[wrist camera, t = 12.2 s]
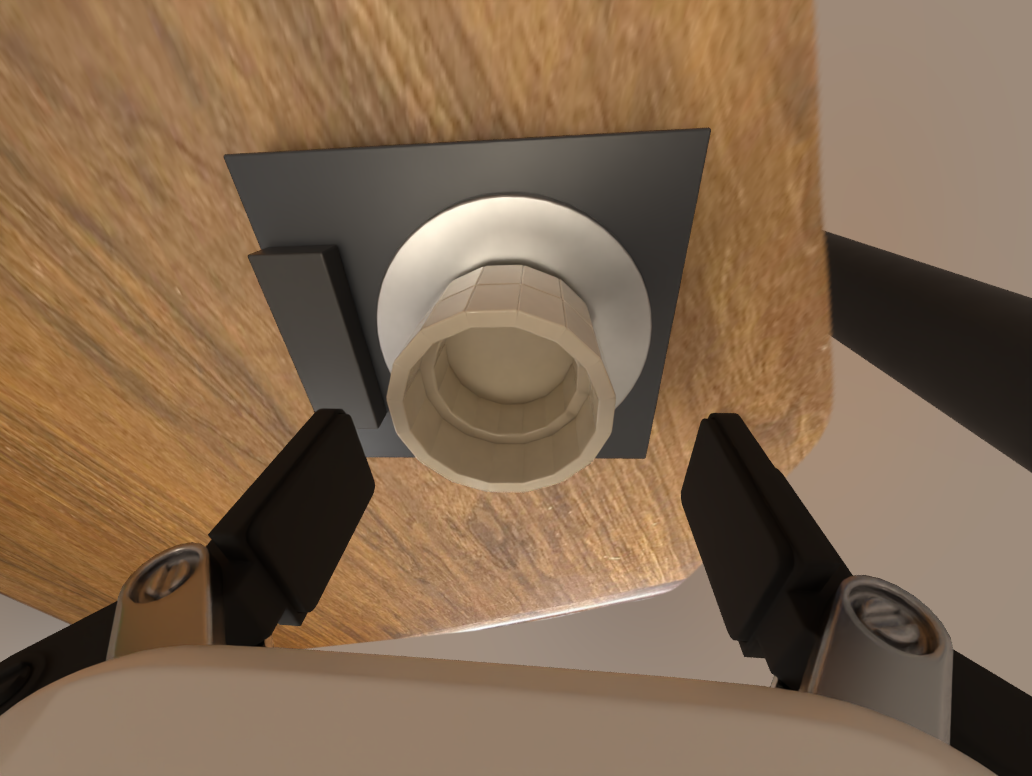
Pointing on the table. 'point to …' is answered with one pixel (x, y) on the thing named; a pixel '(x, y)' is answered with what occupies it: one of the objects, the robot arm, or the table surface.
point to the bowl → (503, 382)
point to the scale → (470, 252)
